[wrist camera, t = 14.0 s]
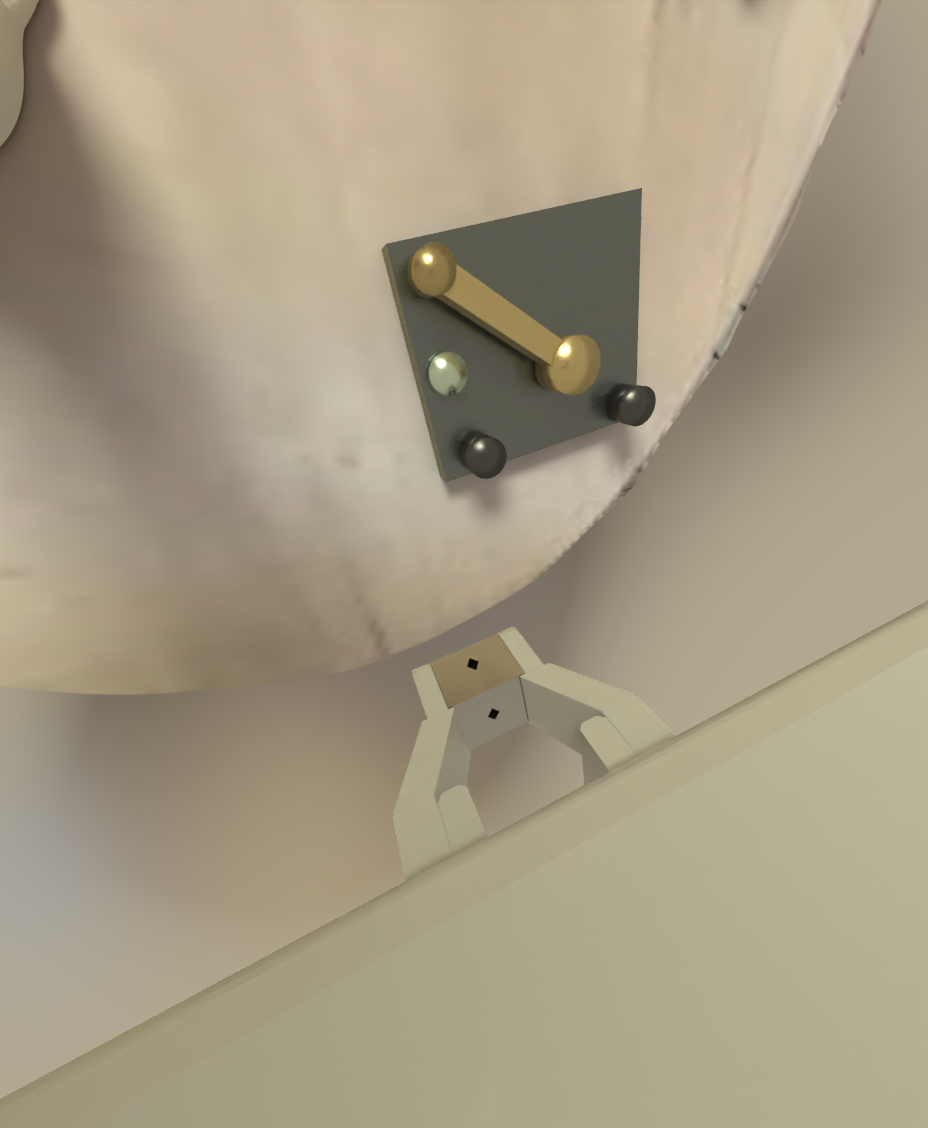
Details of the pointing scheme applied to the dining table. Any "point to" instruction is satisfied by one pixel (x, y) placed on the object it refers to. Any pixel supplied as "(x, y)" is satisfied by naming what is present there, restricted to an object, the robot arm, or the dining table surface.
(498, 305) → the lever
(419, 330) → the base
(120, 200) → the dining table surface
